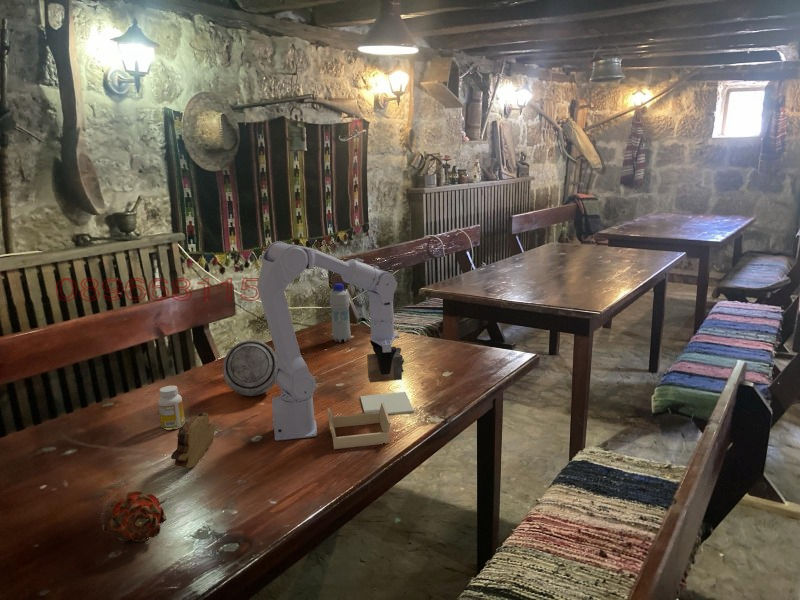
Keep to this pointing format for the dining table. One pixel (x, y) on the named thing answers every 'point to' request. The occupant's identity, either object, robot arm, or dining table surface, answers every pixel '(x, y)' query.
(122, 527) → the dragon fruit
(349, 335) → the bottle
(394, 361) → the block
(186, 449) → the wooden carving
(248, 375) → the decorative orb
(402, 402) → the mat
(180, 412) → the supplement bottle
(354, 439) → the wooden box
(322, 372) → the dining table surface
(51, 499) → the dining table surface
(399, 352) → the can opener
